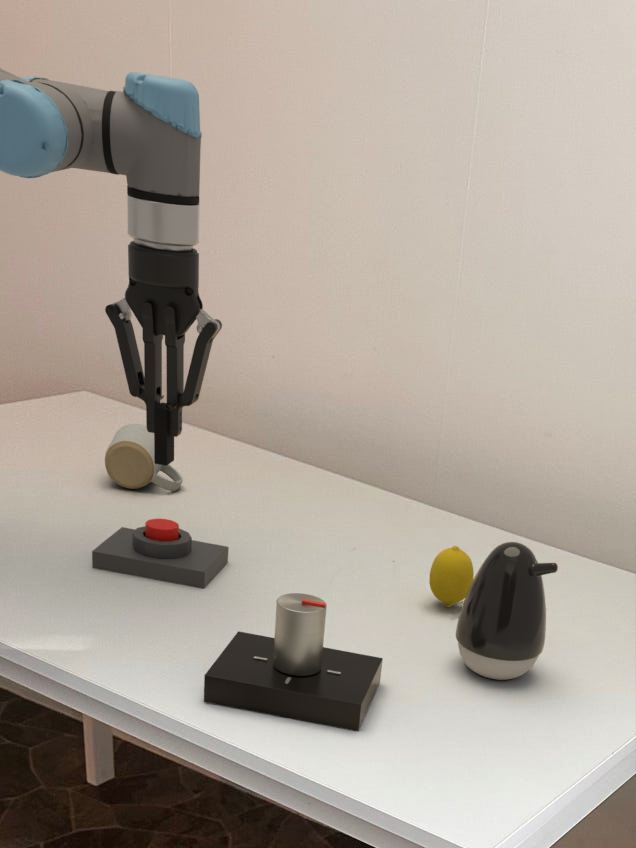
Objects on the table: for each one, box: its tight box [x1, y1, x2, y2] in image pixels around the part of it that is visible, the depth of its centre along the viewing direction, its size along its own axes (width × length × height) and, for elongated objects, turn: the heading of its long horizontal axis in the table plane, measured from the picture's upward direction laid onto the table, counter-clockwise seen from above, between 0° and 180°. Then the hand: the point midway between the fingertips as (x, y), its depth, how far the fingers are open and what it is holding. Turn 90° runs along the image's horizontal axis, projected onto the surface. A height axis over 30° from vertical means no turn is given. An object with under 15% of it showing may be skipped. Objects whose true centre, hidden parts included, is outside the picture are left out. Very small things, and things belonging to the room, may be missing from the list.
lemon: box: [429, 545, 475, 608], centre depth 149 cm, size 6×6×8 cm
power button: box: [144, 518, 180, 541], centre depth 146 cm, size 4×4×2 cm
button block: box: [91, 525, 229, 589], centre depth 147 cm, size 14×10×4 cm
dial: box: [273, 592, 328, 676], centre depth 121 cm, size 5×5×7 cm
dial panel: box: [203, 630, 384, 732], centre depth 124 cm, size 16×12×3 cm
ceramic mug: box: [104, 423, 184, 492], centre depth 172 cm, size 11×8×8 cm
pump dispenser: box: [455, 541, 559, 681], centre depth 133 cm, size 10×10×15 cm
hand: (164, 461), depth 141 cm, fingers closed
